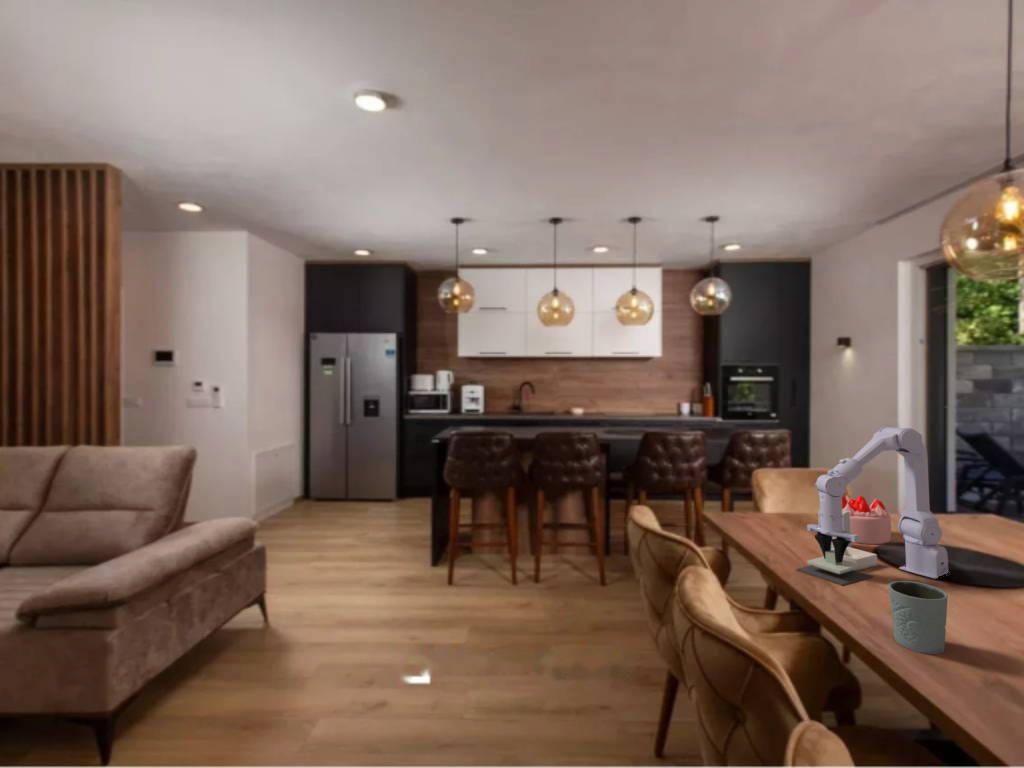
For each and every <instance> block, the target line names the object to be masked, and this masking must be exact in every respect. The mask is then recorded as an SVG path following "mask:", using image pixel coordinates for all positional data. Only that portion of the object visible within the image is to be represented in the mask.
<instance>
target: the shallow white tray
mask: <svg viewBox="0 0 1024 768" xmlns="http://www.w3.org/2000/svg"><path fill="white" fill-rule="evenodd" d="M831 550H834V548H833V549H831ZM834 551H835V550H834ZM877 557H878V554H876V553H874V552H873V553H872V552H870V551H867V550H866V551H865V550H861V549H857V548H854V547H852V546H851V547H847V548H846V550H845V553H844V556H843V559H844V560H847V561H850V562H854V563H857V564H861V566H862V567H861V568H858V569H855V570H856V571H859V572H860V571H862V570H865V569H870V568H873V567H877V566H878V558H877Z"/></svg>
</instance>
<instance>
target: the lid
mask: <svg viewBox="0 0 1024 768" xmlns="http://www.w3.org/2000/svg"><path fill="white" fill-rule="evenodd" d="M825 558H826V559H824V556H823V555H822V556H820V557H816V558H812V559H810V560H806V564H808V565H813V566H814V567H817V568H820V569H823V570H826V571H829V572H832V573H836V574H842V573H845V572H849V571H852V570H855V569H858V568H861V567H862V566H861V564H857V563H854V562H850V561H847V560H844V559H843V561H842V562H840V563H837V562H836V560H835V551H834V550H829V551H825Z"/></svg>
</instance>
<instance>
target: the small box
mask: <svg viewBox="0 0 1024 768" xmlns="http://www.w3.org/2000/svg"><path fill="white" fill-rule="evenodd" d="M842 514H843V530H845V531H847V532H850V533H851V531H850V513H849V511H844V510H842ZM817 518H818V520H817V521H818V522H817V523H818V524H817V525H820V526H821V518H820V509H818V510H817ZM832 539H837V537H832ZM818 545H819V544H818ZM819 547H820V545H819ZM847 547H851V548H852V542H850V543H849V545H848V546H847ZM833 548H834V546H833V543H832V542H831V549H833Z"/></svg>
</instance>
